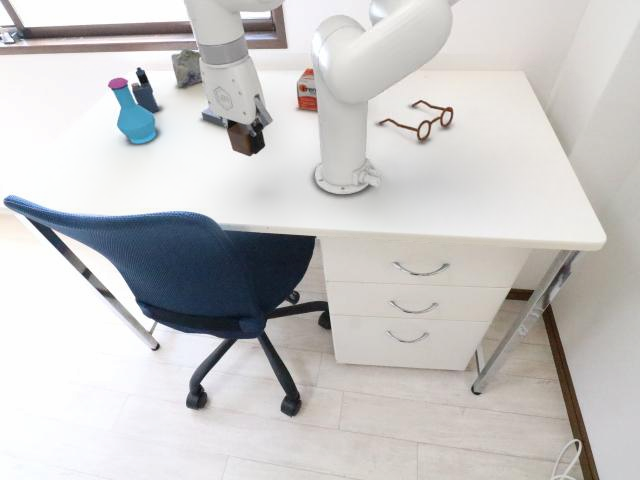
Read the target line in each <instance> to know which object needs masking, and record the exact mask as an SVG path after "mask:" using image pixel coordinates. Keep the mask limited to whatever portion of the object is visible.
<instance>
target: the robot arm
mask: <svg viewBox="0 0 640 480" xmlns="http://www.w3.org/2000/svg"><path fill="white" fill-rule="evenodd" d="M285 1H286V0H182V2H183V4H184V8H185V10H186V14H187V17H188V20H189V23H190V28H191V30H192V33H193V37H194V40H195V44H196V46H197V49H198V52H199V53H200V56H201V57H200V58H199V63H200V72H201V77H202V81H201V82H202V85H203V90H204V94H205V97H206V101H207V104H208V108H209V107H210V110H211V112H212V113H214V114H215V115H217V116H219V117H220V118H221V119H222V120H223V125H224V126H225V127H224V128H226V131H227V130H228V129H229V128H231V127H232V126H233V125H235V124H236V123H237V122H239V123H242V124H246V126H247V128H248V130H249V133H250V135H249V136H248V137H249V141H250V145H251V149H252V153H253V155H257V154H259V152H261V151H262V150H263V149H265V147H266V142H265V138H264V133H263V131H264V129H265V128H266V127H268V126H269V125H270V124H271V123H273V122H274V119H273V118H272V117H273V116H271V114H270V112H268V110H267V108H266V101H265V96H264V92H263V88H262V85H261V81H260V78H259V75H258V72H257V69H256V66H255V63H254V60H253V58H252V57H251V55H250V54H249V49H248V44H247V39H246V35H245V29H244V25H243V21H242V20H243V19H242V15H241V12H243V13H244V12H245V13H267V12H271V11H273V10H276V9H277V8H279V7H280V6H281V5H283V4H284V2H285ZM460 1H461V0H371V1H370V4H369V9H368V14H369V20H370V23H371V27H370V28H368V29H367V30H366V29H365V28H364V26H362V24H360V22H358V21H357V20H356V19H354V18H353V17H350V16H348V15H345V14H335V15H331V16H329V17H327V18H325V19H324V20H323V21H322V22H321V23H320V24H319V25H318V26H317V27H316V29H315V32H314V34H313V37H312V40H311V47H310V48H311V49H310V54H311V55H310V56H311V64H312V69H313V72H314V78H315V86H316V95H317V107H318V111H317V122H318V136H319V137H318V139H319V151H320V163H319V164H318V165H317V166H316V168H315V172H314V178H315V182H316V184H317V185H318V187H320V188H321V189H322V190H324V191H326V192H328V193H332V194H336V195H351V194H354V193H358V192H360V191H362V190H364V189H365V188H366V187H367V186H369V185H370V186H373V187H376V188H378V187H380V186H379V185H381V181H382V179H381V177H380V176H381V173H382V172H381V170H378V169H374V168H372V166H371V158H367V136H368V135H367V132H368V112H369V101H370V100H372V99H373V98H375V97H378V96H379V95H381V94H383V92H385V91H387V90H388V89H390V88H392V87H393V86H395V85H396V84H398V83H399V82H400V81H403V80H404V79H406V78H407V77H408V76H410V75H411V74H413V73H415V72H416V71H418V70H419V69H421V68H422V67H424V66H425V65H426V64H428V63H430V61H432V60H433V59H434V58H435V57H436V56H437V55H438V53H439V52H440V51H441V50H442V49H443V47H444V46H445V44H446V43H447V41H448V39H449V37H450V35H451V33H452V32H451V31H452V28H453V23H454V19H453V16H454V15H453V11H452V7H453V6H455V5H456V4H458V2H460ZM252 122H255V123H256V125H255V127H254V126H253V123H252Z"/></svg>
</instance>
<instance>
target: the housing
mask: <svg viewBox="0 0 640 480" xmlns="http://www.w3.org/2000/svg"><path fill="white" fill-rule="evenodd" d="M200 113H201V116H202V120H203V121H206V122H210V123H212V124H215V125H218V126H220V127H223V128H226V127H225V126H224V125H223V120H222V119H221V118H220V117H219V116H217V115H215V114H214V113H212V112H211V110H210V107H209V106H208V107H207V108H206V109H204V110H203V111H201V112H200Z"/></svg>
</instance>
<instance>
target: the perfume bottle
mask: <svg viewBox="0 0 640 480" xmlns="http://www.w3.org/2000/svg"><path fill="white" fill-rule="evenodd" d="M107 87H108V88H110V90H111V91H112V92H113V94H114V96H115V98H116V100H117V102H118V104H119V106H120V110H119V113H118V117H117V122H116V126H117V128H118V130H119V131H120V132H121V133H122V134H123V135H124V136H125V137H126V138H128V139H129V140H130V142H131V143H133V144H144V143H147V142H150V141H152V140H153V139H154V138H155V137H156V135H157V133H156V119H155V115H154V113H153V112H152V113H151V112H149V111H148V110H146V109H144V108H143V107H141V106H140V105H138V103H137V102H136V100H135V98H134V95H132V94H133V93H132V92H131V90H130V88H129V79H126V78H124V77H115V78H112V79H111V80H109V82H108V83H107Z"/></svg>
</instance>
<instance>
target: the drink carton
mask: <svg viewBox="0 0 640 480" xmlns="http://www.w3.org/2000/svg"><path fill="white" fill-rule="evenodd" d="M296 95H297V103H298V108H299V109H300V110H308V111H316V112H318V107H317V95H316V86H315V78H314V72H313V68H306V69H305V70H304V72H303V73H302V74H301V76H300V77H299V78H298V80H297V81H296Z"/></svg>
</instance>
